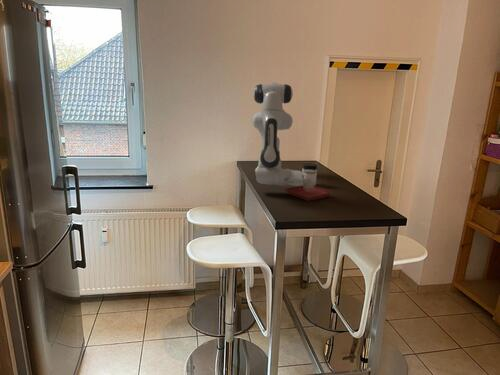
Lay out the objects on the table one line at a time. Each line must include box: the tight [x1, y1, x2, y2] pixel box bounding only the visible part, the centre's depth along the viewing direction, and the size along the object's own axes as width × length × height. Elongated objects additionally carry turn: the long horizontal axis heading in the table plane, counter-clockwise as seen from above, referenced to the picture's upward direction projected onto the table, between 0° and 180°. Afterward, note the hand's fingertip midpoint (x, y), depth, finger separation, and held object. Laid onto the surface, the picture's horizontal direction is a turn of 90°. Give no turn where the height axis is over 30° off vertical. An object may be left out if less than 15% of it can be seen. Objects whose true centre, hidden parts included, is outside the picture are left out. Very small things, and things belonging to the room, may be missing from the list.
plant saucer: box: [285, 185, 332, 201], centre depth 209 cm, size 18×18×3 cm
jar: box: [301, 162, 318, 186], centre depth 231 cm, size 9×8×12 cm
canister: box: [302, 169, 316, 191], centre depth 207 cm, size 6×6×10 cm
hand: (311, 179), depth 207 cm, fingers closed on canister, 6 cm apart
